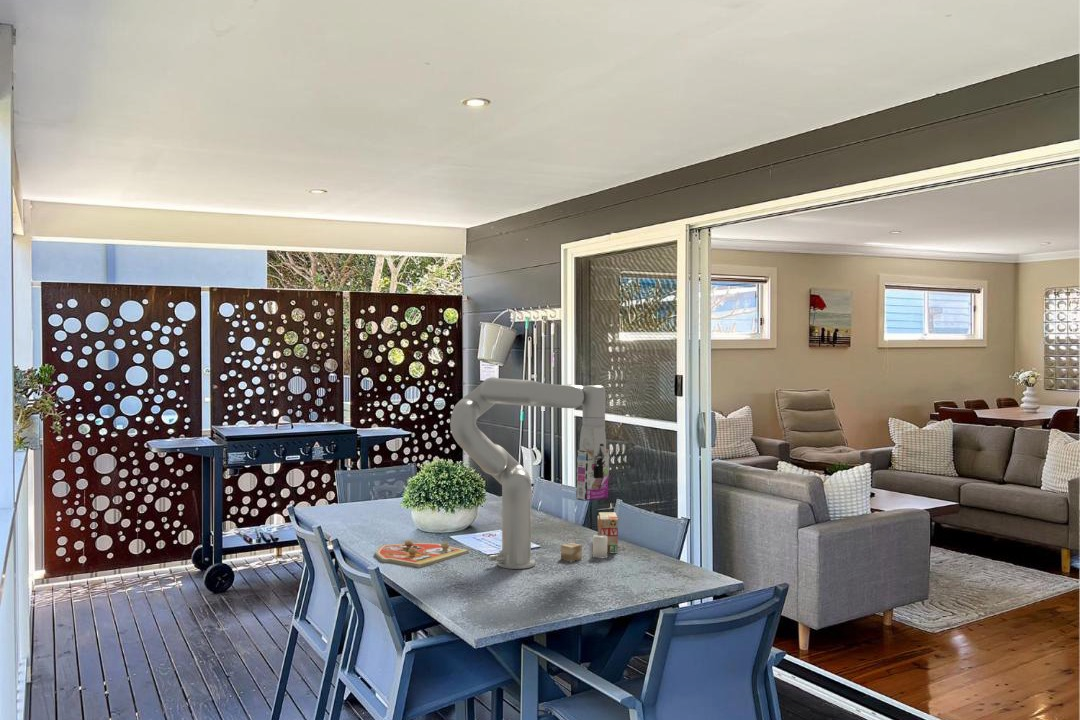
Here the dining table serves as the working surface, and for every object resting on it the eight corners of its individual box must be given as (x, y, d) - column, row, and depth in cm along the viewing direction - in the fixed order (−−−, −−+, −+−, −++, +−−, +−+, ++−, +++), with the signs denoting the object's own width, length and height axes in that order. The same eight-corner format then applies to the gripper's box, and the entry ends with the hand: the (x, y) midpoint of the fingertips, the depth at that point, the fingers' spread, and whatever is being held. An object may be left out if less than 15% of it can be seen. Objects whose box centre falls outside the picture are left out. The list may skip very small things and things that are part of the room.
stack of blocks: (597, 540, 323) (597, 507, 323) (613, 540, 323) (614, 507, 322) (600, 553, 301) (600, 518, 301) (617, 553, 301) (618, 518, 301)
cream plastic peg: (597, 558, 293) (598, 538, 293) (590, 555, 298) (590, 535, 298) (610, 557, 296) (610, 536, 296) (602, 554, 300) (602, 534, 300)
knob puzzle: (417, 570, 278) (417, 556, 278) (352, 558, 294) (352, 545, 294) (472, 552, 303) (472, 540, 303) (409, 542, 319) (409, 530, 319)
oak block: (571, 562, 289) (571, 547, 289) (560, 559, 292) (560, 544, 292) (581, 559, 292) (581, 545, 292) (571, 557, 296) (571, 542, 296)
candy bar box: (586, 501, 280) (587, 451, 280) (575, 499, 284) (576, 450, 283) (609, 498, 287) (610, 449, 287) (599, 496, 291) (599, 447, 291)
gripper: (570, 420, 291) (570, 474, 291) (598, 425, 276) (597, 481, 276) (589, 420, 295) (588, 472, 295) (617, 424, 279) (617, 479, 280)
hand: (593, 476), depth 285 cm, fingers closed on candy bar box, 5 cm apart
